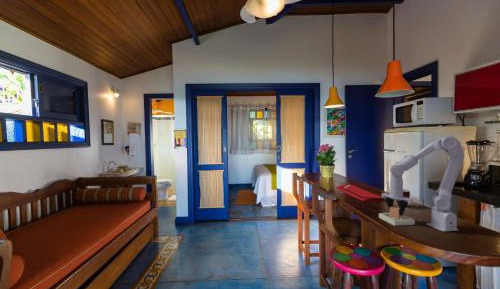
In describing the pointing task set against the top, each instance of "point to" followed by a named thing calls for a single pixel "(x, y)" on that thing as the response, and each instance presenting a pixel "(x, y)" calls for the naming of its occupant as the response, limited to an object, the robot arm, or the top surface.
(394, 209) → the block
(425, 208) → the top surface
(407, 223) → the tray
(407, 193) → the mug
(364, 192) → the dish drying mat
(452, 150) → the robot arm
